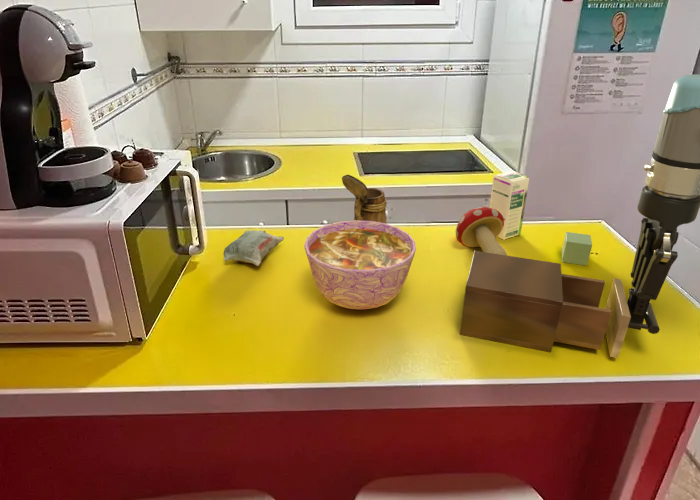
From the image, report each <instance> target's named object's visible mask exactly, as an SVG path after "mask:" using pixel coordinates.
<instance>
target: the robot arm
mask: <svg viewBox="0 0 700 500" xmlns="http://www.w3.org/2000/svg"><path fill="white" fill-rule="evenodd" d="M643 169H644V171H645V172H647V173H646V177H645V179H644V183H645V186H643V187H642V189H641V192H640V195H639V200H638V203H637V207H636V208H637V212H638V213H639V214H640V215H642V216H643V217H642V219H641V220H640V221H641V222H640V223H641V224H640V225H641V226H640V233H639V237H638V241H637V246H636V250H635V255H634V260H633V264H632V269H631V272H630V278H631V279H632V280H631V283H630V284H631V287H632V288H628V294H629V295H628V298H627V304H628V308H629V312H630V315H631V318H630V321H631V322H636V323H642V324H644V322H645V319H644V318H645V315H646V312H647V309H648V306H649V303H651V301H657V299H658V296H659V295H660V292H661V290H662V289H663V286H664V283H665V281H666V279H667V276H668V274H669V272H670V271H671V268H672V266H673V264H674V263H675V261H676V260H677V258H678V256H679V254H678V251H675V250H673V248H674V246H675V245H676V244H677V243H678V239H679V232H678V227H679V226H682V225H687V224H691V223H693V222H694V221H696V219H697V216H698V214H699V211H700V74H685V75H683V76H681V77H679V78H677V79H676V80H675V81H674V82H673V84H672V87H671V90H670V93H669V96H668V99H667V101H666V105H665V107H664V108H663V111H662V117H661V120H660V124H659V129H658V131H657V135H656V139H655V143H654V147H653V151H652V154H651V159H650V163H649V164H645V165H644V168H643ZM627 329H631V330H632V329H634V330H638V331H642V328H637V327H631V326H628V328H627Z"/></svg>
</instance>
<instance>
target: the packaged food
mask: <svg viewBox="0 0 700 500" xmlns="http://www.w3.org/2000/svg"><path fill="white" fill-rule="evenodd" d="M284 238H285V237H284V236H281V235H280V236H276V235H273V234H271V233H268V232H266V230H245V231H244V232H243V233H242V234H241V235H240V236H238V237H237V238H236V239H235V240H233V241H231V243H229V244H228V245H227V246H225V247H224V250H223V261H225V262H228V261H230V260H231V261H236V262H241V263H246V264H253V265H254V266H257V267H259V266H260V265H261V263H262V261H263V260H264V258H265V257H266V256H267V255H269V254H270V253H271V252H272V251H273V250H274V249H275V248H277V247H278V246H279V245H280V243H282V242H283V241H284V240H285V239H284Z"/></svg>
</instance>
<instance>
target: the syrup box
mask: <svg viewBox="0 0 700 500" xmlns="http://www.w3.org/2000/svg"><path fill="white" fill-rule="evenodd" d="M529 183H530V177H529V176H527V175H525V174H523V173H520V172H517V171H514V170H509V171H506V172H502V173H499V174H494V175H493V177H492V183H491V184H492V185H491V193H490V200H489V208H492V209H496V210H497V211H499V212H500V213H501V214H502V215H503V219H504V226H503V228H502V230H501V232H500V234H499V235H498V236H497V237H496V238H498V239H500V240H503V241H505V240H507V239H510V238H513V237H516V236H520V235H521V233H522V227H523V221H524V215H525V210H526V203H527V197H528V190H529Z"/></svg>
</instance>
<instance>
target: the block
mask: <svg viewBox="0 0 700 500" xmlns="http://www.w3.org/2000/svg"><path fill="white" fill-rule="evenodd" d="M592 248H593V241H592V237H591V234H587V233H585V234H584V233H579V232H571V231H565V234H564V239H563V243H562V247H561V262H562V263H566V264H573V265H578V266H585V267H586V266H588V264H589V260H590V255H591V251H592Z"/></svg>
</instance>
